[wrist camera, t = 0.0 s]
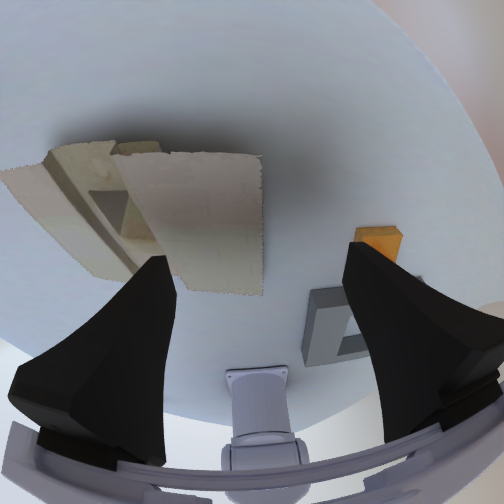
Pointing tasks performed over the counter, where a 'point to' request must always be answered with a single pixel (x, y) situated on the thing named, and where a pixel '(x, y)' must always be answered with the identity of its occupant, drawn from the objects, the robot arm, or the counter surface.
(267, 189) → the counter surface
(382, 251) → the wooden step block
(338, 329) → the well block
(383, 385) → the robot arm
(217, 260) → the beige footed plank
